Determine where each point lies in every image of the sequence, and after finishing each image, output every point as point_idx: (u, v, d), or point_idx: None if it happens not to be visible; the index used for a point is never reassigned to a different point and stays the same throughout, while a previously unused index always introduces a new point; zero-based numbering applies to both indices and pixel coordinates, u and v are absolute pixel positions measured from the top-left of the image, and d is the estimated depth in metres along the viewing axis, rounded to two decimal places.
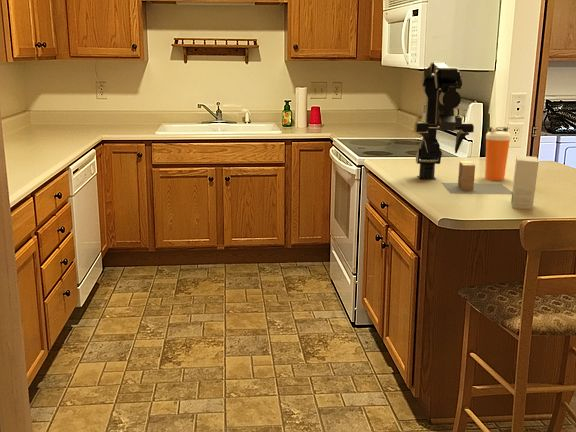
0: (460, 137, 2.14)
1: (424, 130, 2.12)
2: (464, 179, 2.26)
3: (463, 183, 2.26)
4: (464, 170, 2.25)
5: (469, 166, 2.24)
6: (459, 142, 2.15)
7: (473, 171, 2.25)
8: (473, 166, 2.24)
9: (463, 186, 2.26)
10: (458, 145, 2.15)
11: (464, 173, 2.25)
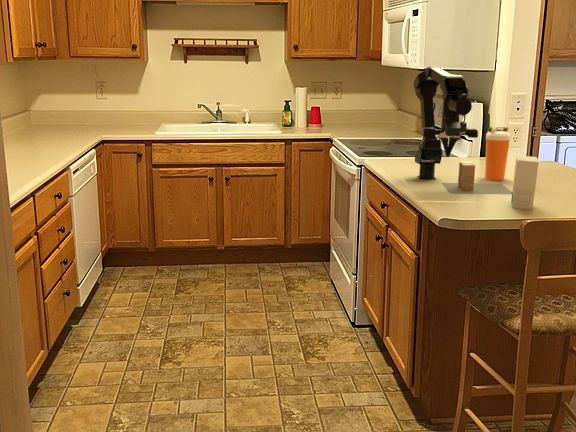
0: (452, 142, 2.24)
1: (431, 135, 2.23)
2: (464, 179, 2.26)
3: (463, 183, 2.26)
4: (464, 170, 2.25)
5: (469, 166, 2.24)
6: (451, 146, 2.25)
7: (473, 171, 2.25)
8: (473, 166, 2.24)
9: (463, 186, 2.26)
10: (450, 149, 2.26)
11: (464, 173, 2.25)
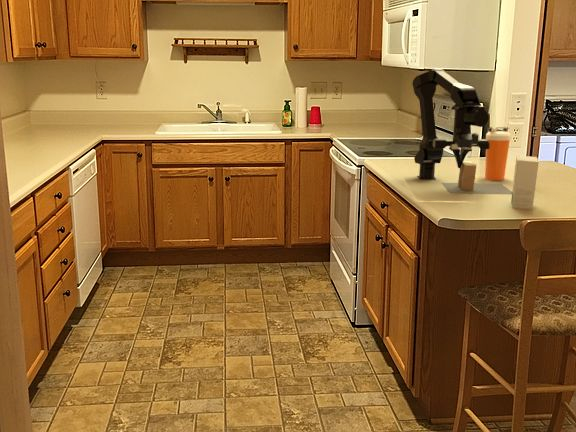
0: (463, 153, 2.25)
1: (442, 147, 2.24)
2: (464, 178, 2.26)
3: (463, 183, 2.26)
4: (465, 170, 2.25)
5: (470, 166, 2.24)
6: (462, 158, 2.26)
7: (474, 171, 2.25)
8: (474, 166, 2.24)
9: (463, 186, 2.26)
10: (461, 160, 2.26)
11: (465, 173, 2.25)
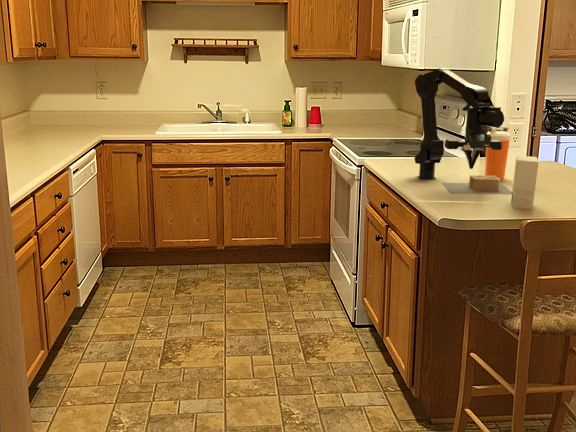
0: (476, 154, 2.25)
1: (455, 147, 2.23)
2: (485, 180, 2.25)
3: (481, 180, 2.25)
4: (494, 180, 2.25)
5: (498, 185, 2.25)
6: (475, 158, 2.26)
7: (492, 189, 2.26)
8: (497, 189, 2.26)
9: (477, 180, 2.25)
10: (474, 161, 2.26)
11: (491, 180, 2.25)
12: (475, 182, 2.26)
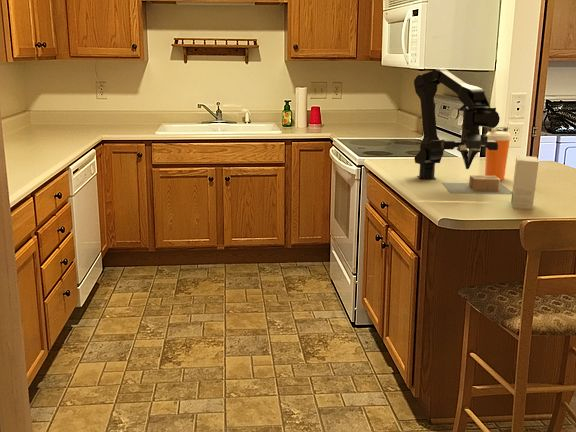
0: (472, 154, 2.25)
1: (451, 148, 2.24)
2: (485, 180, 2.25)
3: (481, 180, 2.25)
4: (494, 180, 2.25)
5: (498, 185, 2.25)
6: (471, 159, 2.26)
7: (492, 189, 2.26)
8: (497, 189, 2.26)
9: (477, 180, 2.25)
10: (470, 162, 2.27)
11: (491, 180, 2.25)
12: (475, 182, 2.26)
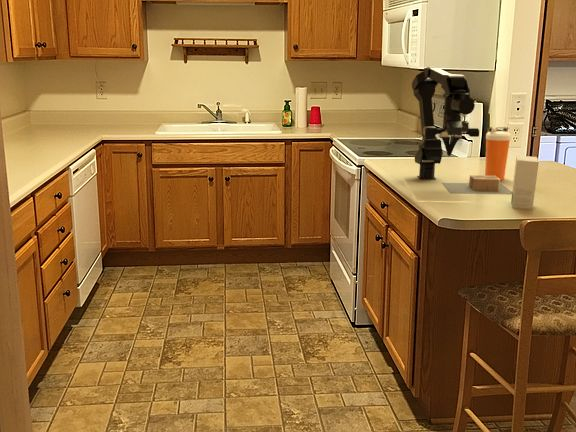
0: (454, 141, 2.25)
1: (432, 134, 2.24)
2: (485, 180, 2.25)
3: (481, 180, 2.25)
4: (494, 180, 2.25)
5: (498, 185, 2.25)
6: (453, 145, 2.26)
7: (492, 189, 2.26)
8: (497, 189, 2.26)
9: (477, 180, 2.25)
10: (452, 148, 2.27)
11: (491, 180, 2.25)
12: (475, 182, 2.26)
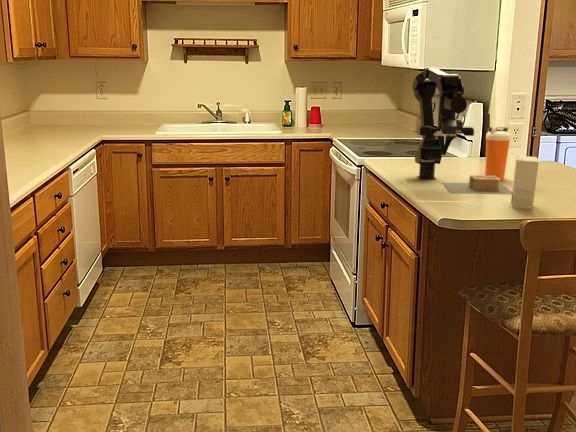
0: (448, 140, 2.26)
1: (427, 133, 2.25)
2: (485, 180, 2.25)
3: (481, 180, 2.25)
4: (494, 180, 2.25)
5: (498, 185, 2.25)
6: (447, 144, 2.27)
7: (492, 189, 2.26)
8: (497, 189, 2.26)
9: (477, 180, 2.25)
10: (446, 147, 2.28)
11: (491, 180, 2.25)
12: (475, 182, 2.26)
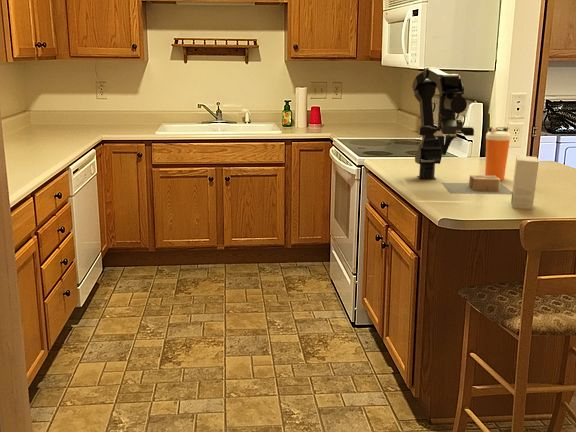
0: (448, 140, 2.26)
1: (427, 133, 2.25)
2: (485, 180, 2.25)
3: (481, 180, 2.25)
4: (494, 180, 2.25)
5: (498, 185, 2.25)
6: (447, 144, 2.27)
7: (492, 189, 2.26)
8: (497, 189, 2.26)
9: (477, 180, 2.25)
10: (446, 147, 2.28)
11: (491, 180, 2.25)
12: (475, 182, 2.26)
